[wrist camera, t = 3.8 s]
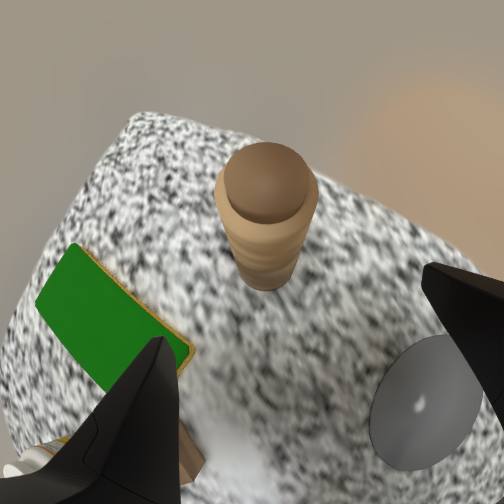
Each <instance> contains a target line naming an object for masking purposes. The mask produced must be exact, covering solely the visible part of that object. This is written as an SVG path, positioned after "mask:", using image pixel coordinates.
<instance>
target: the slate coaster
mask: <svg viewBox="0 0 504 504" xmlns="http://www.w3.org/2000/svg"><path fill="white" fill-rule="evenodd" d="M482 397H483V388H482V387H481V385H480V383H479V381H478V380H477V378H476V376H475V374H474V373H473V371H472V369H471V368H470V366H469V364H468V363H467V361H466V360H465V358H464V356H463V355H462V353H461V352H460V350H459V348H458V347H457V345H456V344H455V342H454V341H453V339H452V338H451V336H450V335H440V336H433V337H429V338H426V339H423V340H421V341H419V342H417V343H416V344H414V345H412V346H411V347H410V348H408V349H407V350H406V351H404V352H403V353H402V354H401V355H400V356H399V357H398V358H397V359H396V360H395V362H394V363H393V364H392V365H391V366H390V368H389V369H388V371H387V372H386V374H385V375H384V377H383V379H382V381H381V383H380V384H379V387H378V389H377V391H376V393H375V397H374V400H373V403H372V407H371V411H370V420H369V432H370V438H371V442H372V445H373V447H374V449H375V451H376V453H377V454H378V456H379V457H380V458H381V459H382V460H383V461H384V462H385V463H387V464H388V465H390V466H391V467H393V468H396V469H399V470H405V471H415V470H421V469H424V468H427V467H430V466H432V465H434V464H436V463H438V462H440V461H441V460H443V459H444V458H446V457H447V456H448V455H450V454H451V453H452V452H453V451H454V450H455V449H456V448H457V447H458V446H459V445H460V444H461V443H462V441H463V440H464V439H465V437H466V436H467V435H468V433H469V431H470V430H471V428H472V426H473V424H474V422H475V420H476V418H477V415H478V413H479V410H480V406H481V402H482Z"/></svg>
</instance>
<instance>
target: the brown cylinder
mask: <svg viewBox="0 0 504 504" xmlns="http://www.w3.org/2000/svg"><path fill="white" fill-rule="evenodd" d="M214 191H215V201H216V205H217V208H218V211H219V214H220V217H221V220H222V223H223V226H224V229H225V232H226V235H227V238H228V241H229V244H230V247H231V250H232V253H233V256H234V259H235V262H236V265H237V268H238V271H239V273H240V276H241V278H242V279H243V281H244V282H245V283H246V284H247V285H249V286H250V287H252V288H254V289H256V290H260V291H272V290H275V289H278V288H280V287H282V286H283V285H284V284H285V283H286V282H287V281H288V280H289V279H290V277H291V275H292V273H293V270H294V267H295V265H296V262H297V259H298V257H299V254H300V251H301V248H302V246H303V243H304V240H305V237H306V234H307V232H308V229H309V226H310V223H311V220H312V217H313V214H314V211H315V208H316V206H317V202H318V194H319V192H318V185H317V181H316V179H315V176H314V174H313V173H312V171H311V170H310V168H309V167H308V166H307V165H306V163H305V161H304V160H303V159H302V157H301V156H300V155H299V154H298V153H296V152H295V151H294V150H292V149H290V148H289V147H286V146H284V145H281V144H277V143H269V142H263V143H255V144H252V145H249V146H246V147H244V148H242V149H240V150H239V151H237V152H236V153H235V154H234V155H233V156H232V157H231V158H230V159H229V161H228V163H227V164H226V165H225V167H224V168H223V169H222V170H221V172H220V174H219V176H218V178H217V180H216V184H215V190H214Z"/></svg>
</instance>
